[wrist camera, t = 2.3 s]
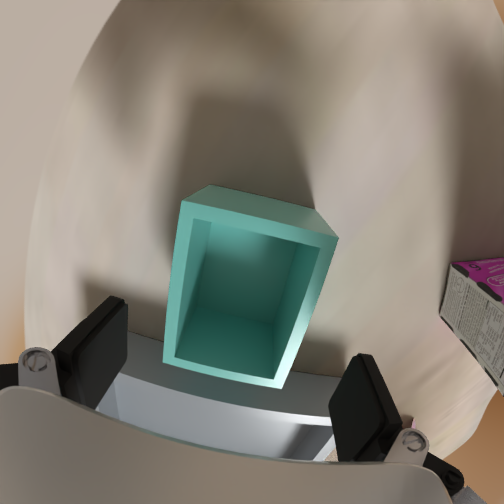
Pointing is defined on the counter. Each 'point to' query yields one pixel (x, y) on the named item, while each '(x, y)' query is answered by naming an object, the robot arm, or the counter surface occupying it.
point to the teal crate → (244, 284)
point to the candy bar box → (478, 312)
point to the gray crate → (222, 406)
